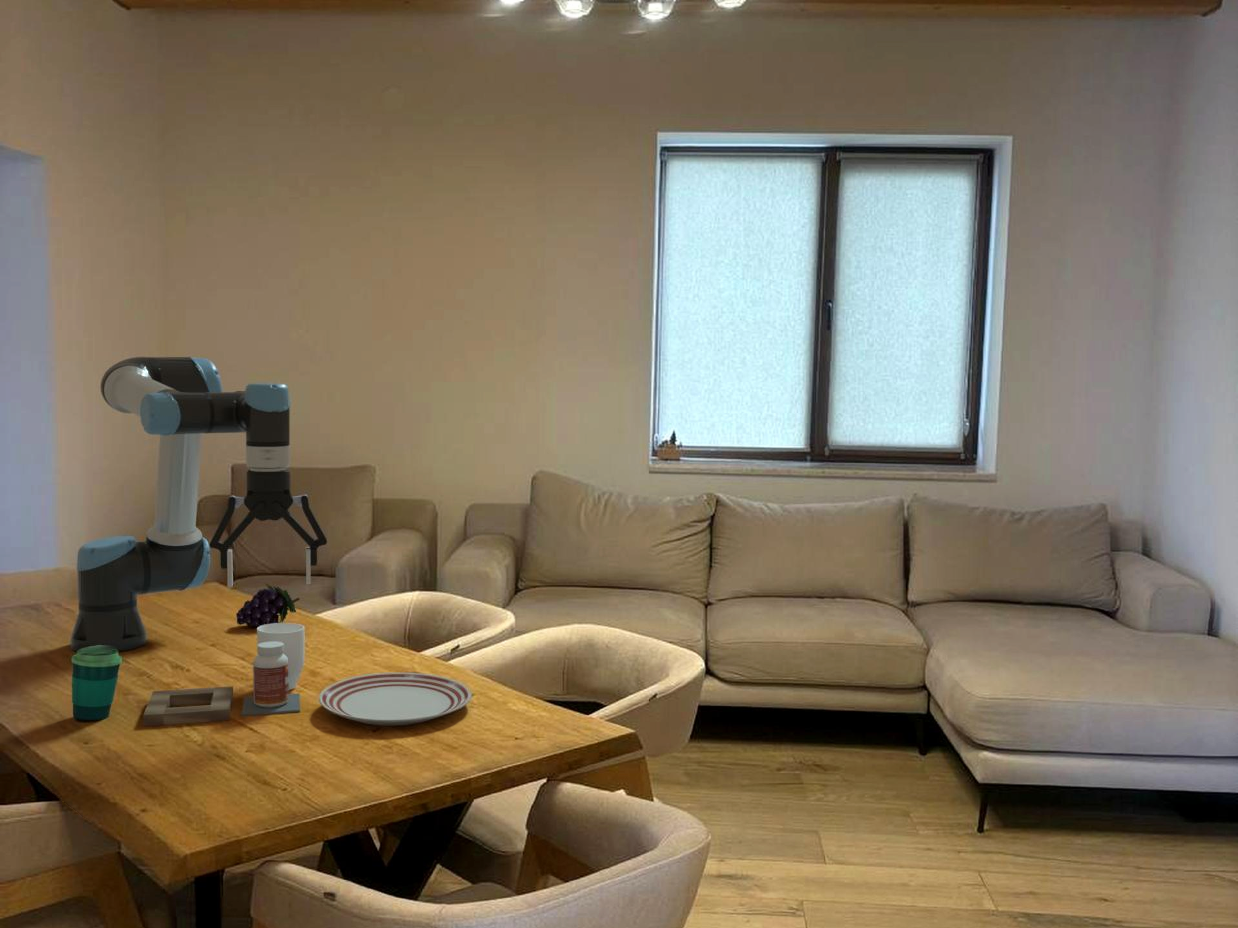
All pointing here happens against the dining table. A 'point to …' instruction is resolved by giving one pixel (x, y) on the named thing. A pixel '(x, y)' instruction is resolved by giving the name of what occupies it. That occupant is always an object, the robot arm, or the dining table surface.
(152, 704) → the collar
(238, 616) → the fruit
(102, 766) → the dining table surface
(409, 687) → the dinner plate
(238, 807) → the dining table surface
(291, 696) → the coaster
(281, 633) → the mug
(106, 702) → the cup
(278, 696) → the pill bottle
